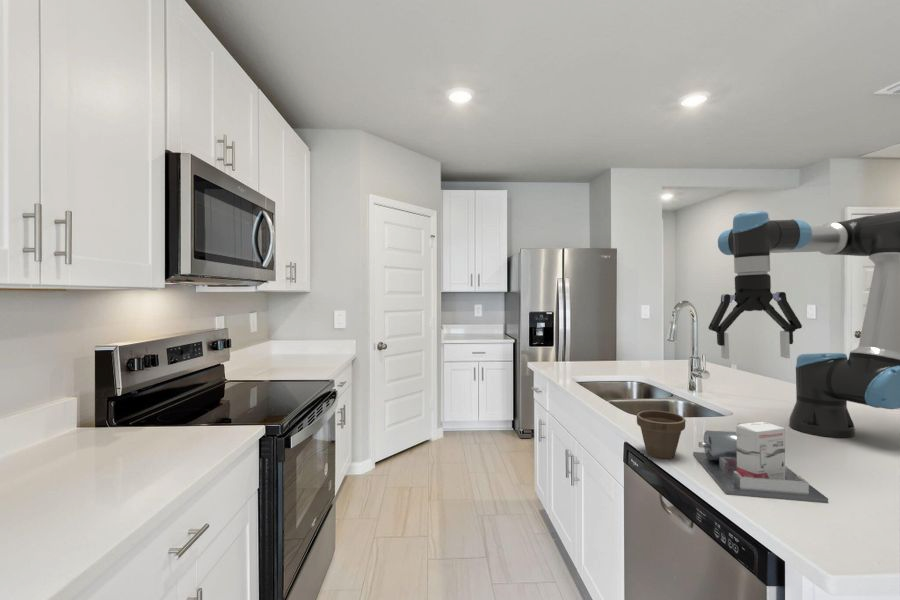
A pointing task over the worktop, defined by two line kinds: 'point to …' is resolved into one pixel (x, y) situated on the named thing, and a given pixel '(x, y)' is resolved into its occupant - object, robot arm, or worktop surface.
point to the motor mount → (724, 471)
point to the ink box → (761, 450)
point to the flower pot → (660, 432)
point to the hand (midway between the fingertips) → (754, 358)
